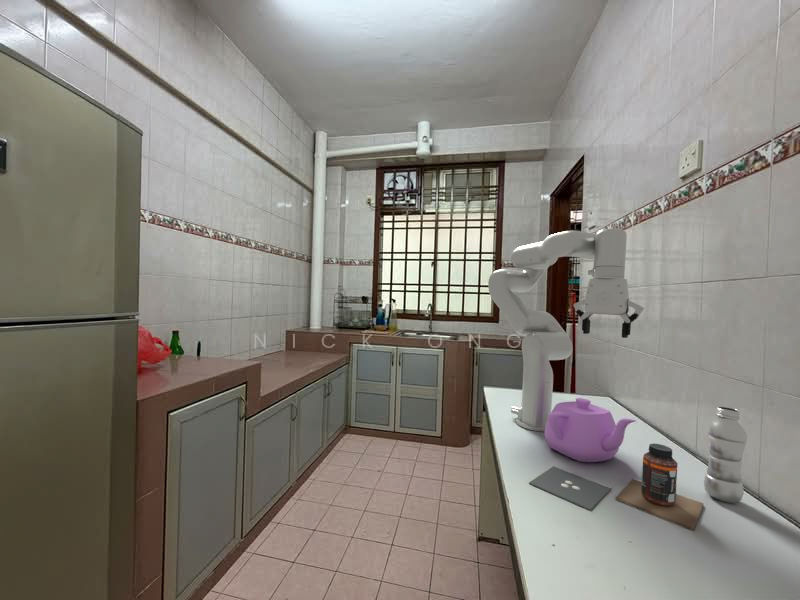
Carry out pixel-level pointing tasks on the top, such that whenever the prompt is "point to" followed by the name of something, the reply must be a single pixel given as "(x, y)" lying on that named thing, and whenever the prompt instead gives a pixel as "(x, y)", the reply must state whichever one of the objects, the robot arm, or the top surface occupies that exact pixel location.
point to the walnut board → (679, 513)
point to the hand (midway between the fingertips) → (604, 335)
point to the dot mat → (571, 487)
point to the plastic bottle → (725, 456)
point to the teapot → (584, 431)
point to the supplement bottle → (659, 475)
